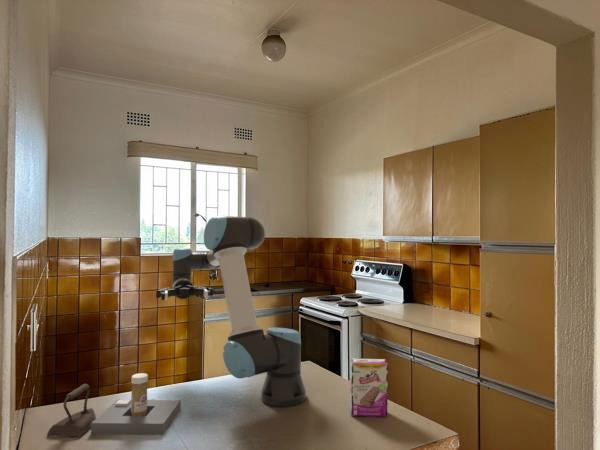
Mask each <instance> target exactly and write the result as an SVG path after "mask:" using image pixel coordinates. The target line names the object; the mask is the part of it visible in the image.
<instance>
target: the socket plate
mask: <svg viewBox="0 0 600 450" xmlns="http://www.w3.org/2000/svg"><path fill="white" fill-rule="evenodd" d="M181 404H182V401H181V399H147V416H131V399H117V400H116V401H115V402H113V403H112V404H111V405H109V407H107V408H106V409H105V410H104V411H103V412H102V413H101V414H100V415H99V416H97V417H96V419H95V420H94V421H93V422H92V423H91V429H90V435H151V436H154V435H156V436H157V435H159V436H163V435H164V434H165V433H166V431H167V430H168V428H170V425H171V424H172V423H173V421H174V420H175V418H176V417H177V415H178V414H179V413H180V411H181V410H182V407H181V406H182V405H181Z"/></svg>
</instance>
